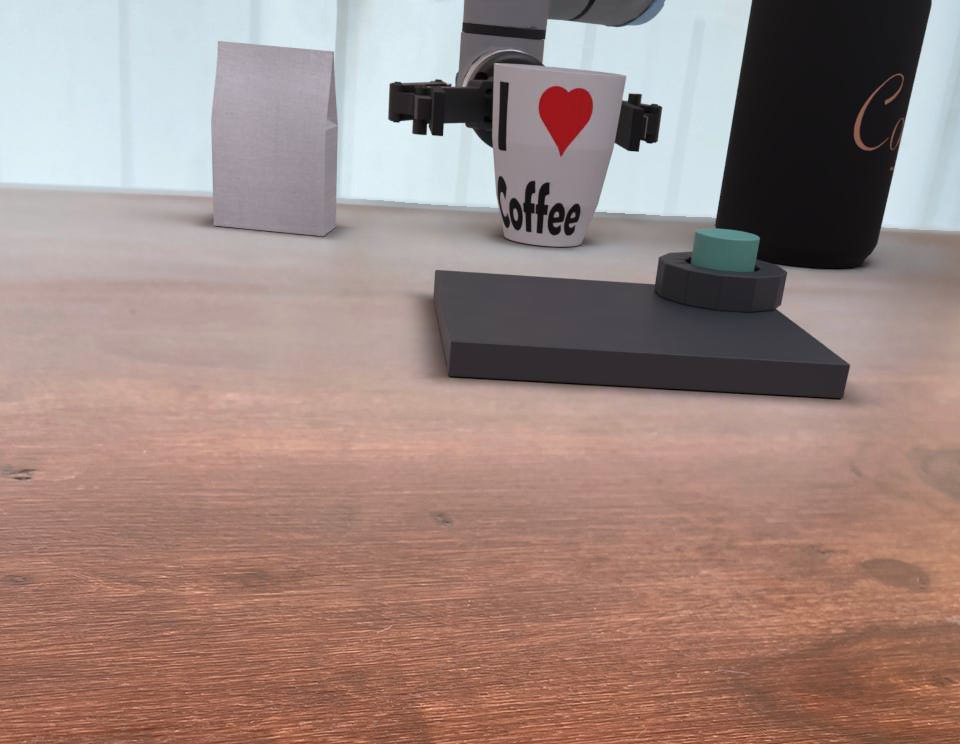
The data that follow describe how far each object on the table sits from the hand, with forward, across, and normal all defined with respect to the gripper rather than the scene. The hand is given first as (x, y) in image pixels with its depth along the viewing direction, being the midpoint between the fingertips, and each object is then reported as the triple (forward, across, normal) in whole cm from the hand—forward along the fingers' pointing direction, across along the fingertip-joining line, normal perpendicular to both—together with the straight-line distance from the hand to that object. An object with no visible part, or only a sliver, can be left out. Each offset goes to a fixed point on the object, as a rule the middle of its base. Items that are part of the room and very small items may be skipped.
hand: (538, 122), depth 81 cm
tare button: (+30, -6, -4) cm, 31 cm away
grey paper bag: (+10, +17, -7) cm, 21 cm away
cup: (+8, 0, -7) cm, 10 cm away
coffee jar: (+7, -17, -7) cm, 19 cm away
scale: (+35, 0, -6) cm, 35 cm away
